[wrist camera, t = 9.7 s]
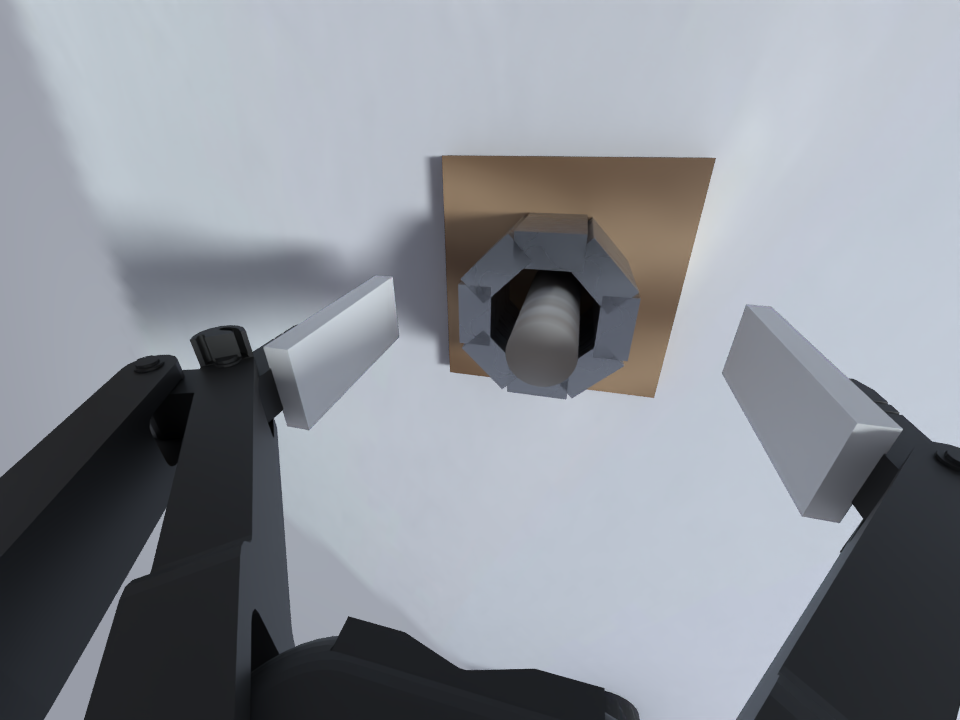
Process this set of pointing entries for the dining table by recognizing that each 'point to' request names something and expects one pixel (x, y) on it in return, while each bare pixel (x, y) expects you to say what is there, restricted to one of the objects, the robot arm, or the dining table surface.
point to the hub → (558, 249)
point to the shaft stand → (558, 294)
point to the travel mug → (620, 708)
